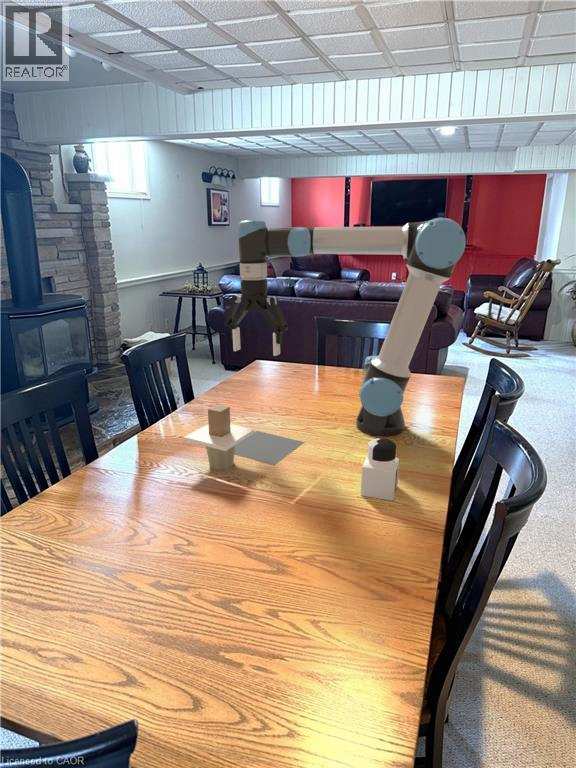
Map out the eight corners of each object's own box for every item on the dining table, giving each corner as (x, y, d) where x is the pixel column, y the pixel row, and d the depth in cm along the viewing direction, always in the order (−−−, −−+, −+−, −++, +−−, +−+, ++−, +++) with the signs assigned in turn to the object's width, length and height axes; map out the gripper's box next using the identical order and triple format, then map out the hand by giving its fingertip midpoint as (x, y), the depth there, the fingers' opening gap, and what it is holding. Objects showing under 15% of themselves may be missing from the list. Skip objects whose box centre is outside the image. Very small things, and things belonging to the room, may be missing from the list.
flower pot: (233, 476, 128) (232, 445, 125) (198, 472, 130) (196, 442, 127) (243, 460, 137) (242, 430, 134) (210, 456, 138) (209, 428, 136)
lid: (254, 432, 133) (253, 404, 131) (225, 451, 122) (224, 420, 120) (215, 423, 139) (213, 396, 137) (184, 440, 128) (182, 411, 126)
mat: (304, 444, 146) (304, 442, 146) (274, 467, 132) (274, 465, 132) (256, 432, 155) (256, 430, 154) (223, 453, 141) (223, 451, 140)
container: (397, 486, 123) (401, 437, 119) (393, 501, 116) (397, 450, 112) (366, 480, 125) (369, 433, 121) (360, 496, 118) (362, 446, 115)
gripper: (209, 278, 142) (214, 351, 148) (286, 281, 130) (288, 359, 137) (224, 275, 148) (228, 345, 154) (299, 278, 137) (300, 353, 143)
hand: (256, 352), depth 146 cm, fingers open, 13 cm apart
